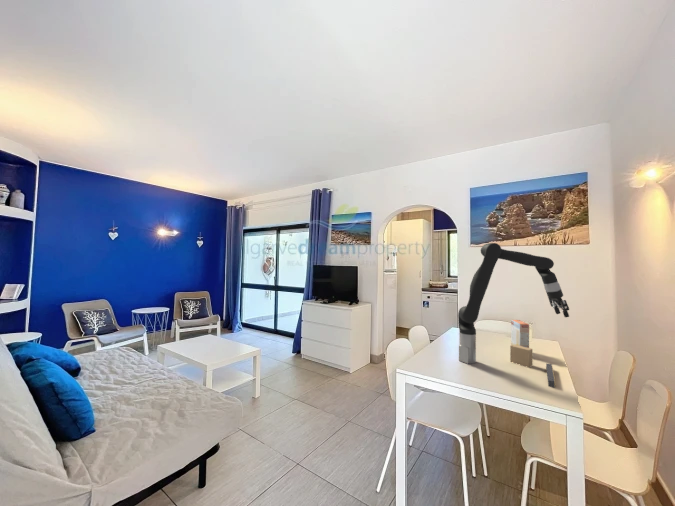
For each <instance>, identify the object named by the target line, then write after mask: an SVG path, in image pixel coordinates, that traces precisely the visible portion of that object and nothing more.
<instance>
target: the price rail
mask: <svg viewBox="0 0 675 506" xmlns="http://www.w3.org/2000/svg"><path fill="white" fill-rule="evenodd" d="M545 368H546V369H545V370H546V376H547V377H546V378H547V379H546V380H547V386H548V387H549V388H555V387H556V378H555V373H554V367H553V365H552V364H551V363H546V364H545Z"/></svg>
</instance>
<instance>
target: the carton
mask: <svg viewBox="0 0 675 506" xmlns="http://www.w3.org/2000/svg"><path fill="white" fill-rule="evenodd" d="M509 354H510V358H509V361H510V363H512V362H513V364H516V363H517V364H516V365H519V364H520V365H519V366H522V367H526V366H527V368H531V367H533V366H532V365H534V364H533V348H530V347H529V348H527V347H523V346H519V345H515V344H514V345H511V344H510V353H509ZM530 366H531V367H530Z"/></svg>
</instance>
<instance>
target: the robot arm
mask: <svg viewBox="0 0 675 506" xmlns="http://www.w3.org/2000/svg"><path fill="white" fill-rule="evenodd" d="M480 253H481V255H482V256H483V259H482V262H481V264H480V266H479V267H478V268H477V270H476V271H475V272H474V275H473V276H472V278H471V282H470V285H469V296H468V297H469V298H468V302H467V304H466V305H465V306H464V305H463V306H461V307H460V308H459V310H458V315H457V317H458V319H457V322H458V328H459V345H458V361H459V362H462V363H463V364H464V363H465V364H476V362H477V352H476V351H477V330H476V328H475V322H476V321H477V320H478V317H479V315H480V314H479V313H480V310H481V306H482V302H483V300H484V297H485V294H486V292H487V289H488V286H489V284H490V281H491V278H492V275H493V273H494V269H495V267H496V265H497V262H498V260H504V261H509V262H512V263H515V264H519V265H524V266H529V267H534V268H535V270H536V271H537V273H538V274H539V276H540V277H541V280H542V282H543V286H544V290H545V292H546V295H547V299H548V301H549V305H550V307H552V309H554V312H555V314H556V315H559V314H561V312H560V311H562V313H563V317H564V318H569V317H570V314H569V312H568V311H570V308H569V304H568V302H567V300H566V299H564V300H563V298H562V297H564V293H563V291H562V287H561V286H560V285H561V284H560V283H559V282H558V279H557V276H556V273H555V272H553V271H551V269H553V267H554V265H555V262H554V261H553V259H551V258H549V257H546V256H539V255H534V254H530V253H525V252H522V251H521V252H520V251H515V250H507V249H503V248H502V247H501V245H500V244H498V243H497V242H491V243H490V242H489V243H485V244H484V245H482V246H481V248H480Z"/></svg>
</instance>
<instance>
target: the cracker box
mask: <svg viewBox="0 0 675 506" xmlns="http://www.w3.org/2000/svg"><path fill="white" fill-rule="evenodd" d="M510 321H511V322H510V324H511V325H510V326H511V327H510V328H511V329H510V337H511V338H510V346H511V345H514V344H515V345H519V346H523V347H527V348H530V324H529V323H527V322H525V321H522V320H520V319H511V320H510Z"/></svg>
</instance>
